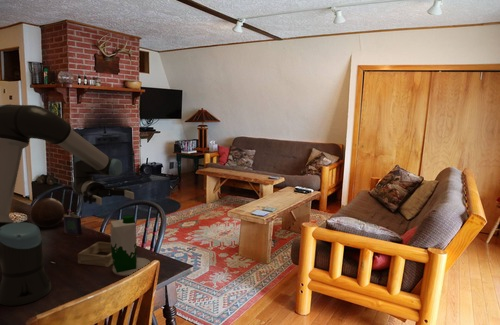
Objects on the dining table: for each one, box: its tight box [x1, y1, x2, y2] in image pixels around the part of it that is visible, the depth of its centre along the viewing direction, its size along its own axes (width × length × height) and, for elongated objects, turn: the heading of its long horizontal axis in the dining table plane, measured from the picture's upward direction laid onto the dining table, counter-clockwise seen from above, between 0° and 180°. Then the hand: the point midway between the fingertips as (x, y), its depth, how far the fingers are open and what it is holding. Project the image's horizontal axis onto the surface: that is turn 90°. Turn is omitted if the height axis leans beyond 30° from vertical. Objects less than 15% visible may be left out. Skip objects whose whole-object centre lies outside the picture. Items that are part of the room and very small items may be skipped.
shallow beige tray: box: [77, 241, 114, 268], centre depth 147 cm, size 13×13×4 cm
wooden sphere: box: [30, 197, 65, 229], centre depth 183 cm, size 15×15×15 cm
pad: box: [112, 257, 151, 277], centre depth 139 cm, size 14×14×1 cm
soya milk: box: [110, 214, 138, 272], centre depth 136 cm, size 9×9×20 cm
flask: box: [63, 211, 83, 236], centre depth 174 cm, size 9×3×11 cm, turn 76°
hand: (117, 198), depth 143 cm, fingers open, 13 cm apart
